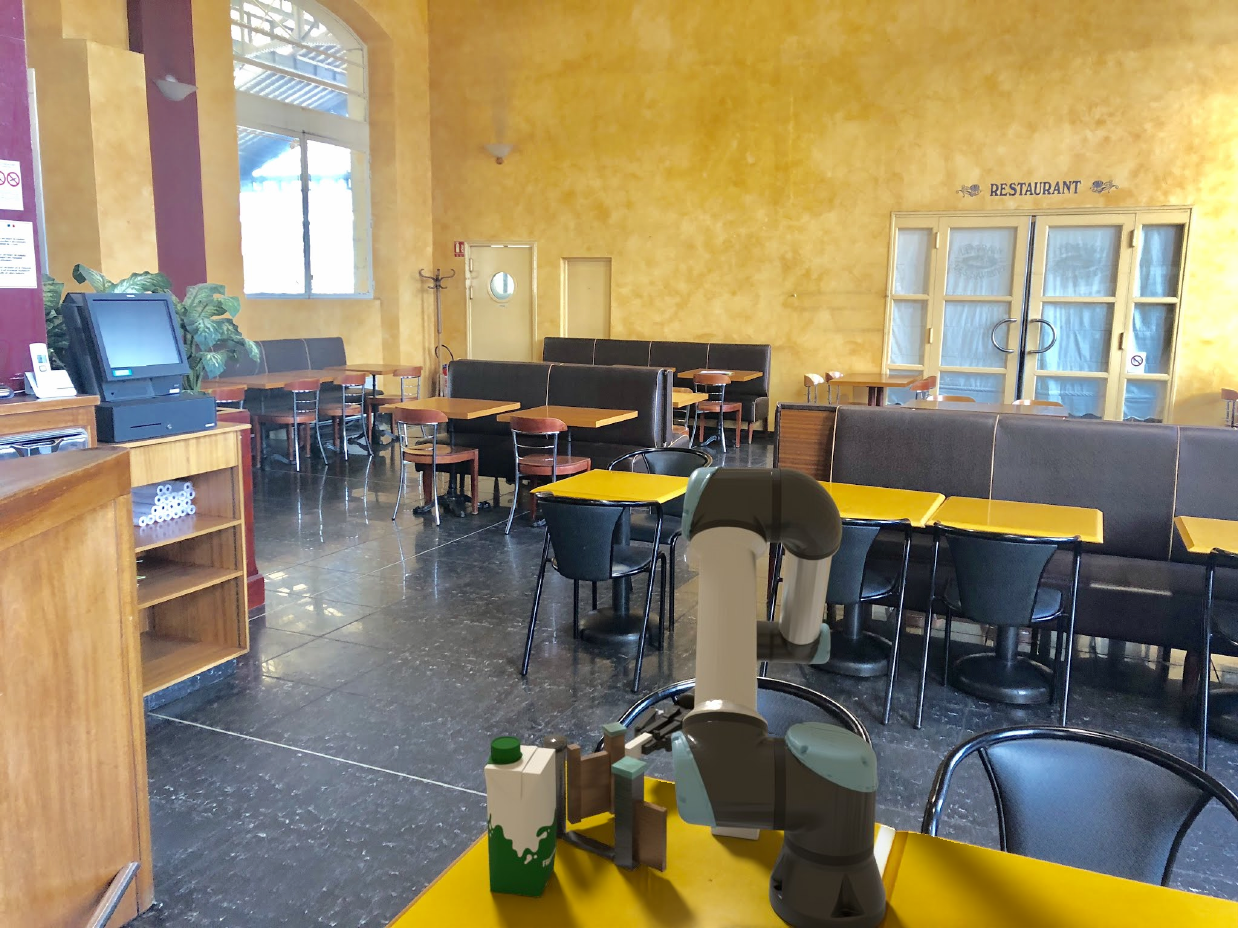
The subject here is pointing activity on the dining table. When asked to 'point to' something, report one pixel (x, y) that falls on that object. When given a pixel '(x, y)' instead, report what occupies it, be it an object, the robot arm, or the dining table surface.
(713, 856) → the dining table surface
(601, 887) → the dining table surface
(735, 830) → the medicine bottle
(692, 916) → the dining table surface
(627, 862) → the gate posts
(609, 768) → the gate
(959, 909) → the dining table surface
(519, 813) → the milk carton
